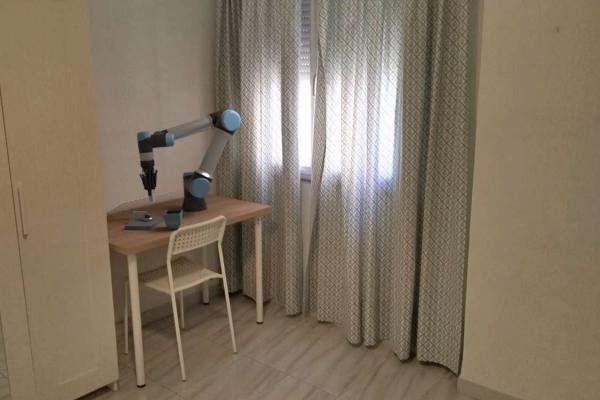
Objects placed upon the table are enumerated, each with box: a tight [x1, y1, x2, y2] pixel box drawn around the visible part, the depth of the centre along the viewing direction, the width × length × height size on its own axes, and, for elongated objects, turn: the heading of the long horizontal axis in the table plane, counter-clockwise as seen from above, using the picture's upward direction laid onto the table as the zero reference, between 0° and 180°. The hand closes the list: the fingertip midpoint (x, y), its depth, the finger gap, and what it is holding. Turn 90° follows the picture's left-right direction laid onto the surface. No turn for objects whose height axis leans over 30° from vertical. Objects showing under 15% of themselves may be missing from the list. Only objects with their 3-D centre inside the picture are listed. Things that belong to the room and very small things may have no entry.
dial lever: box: [132, 210, 153, 221], centre depth 276 cm, size 12×6×4 cm, turn 75°
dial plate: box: [124, 215, 164, 231], centre depth 274 cm, size 14×20×2 cm
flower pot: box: [163, 209, 183, 230], centre depth 267 cm, size 9×9×9 cm
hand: (152, 201), depth 283 cm, fingers closed
